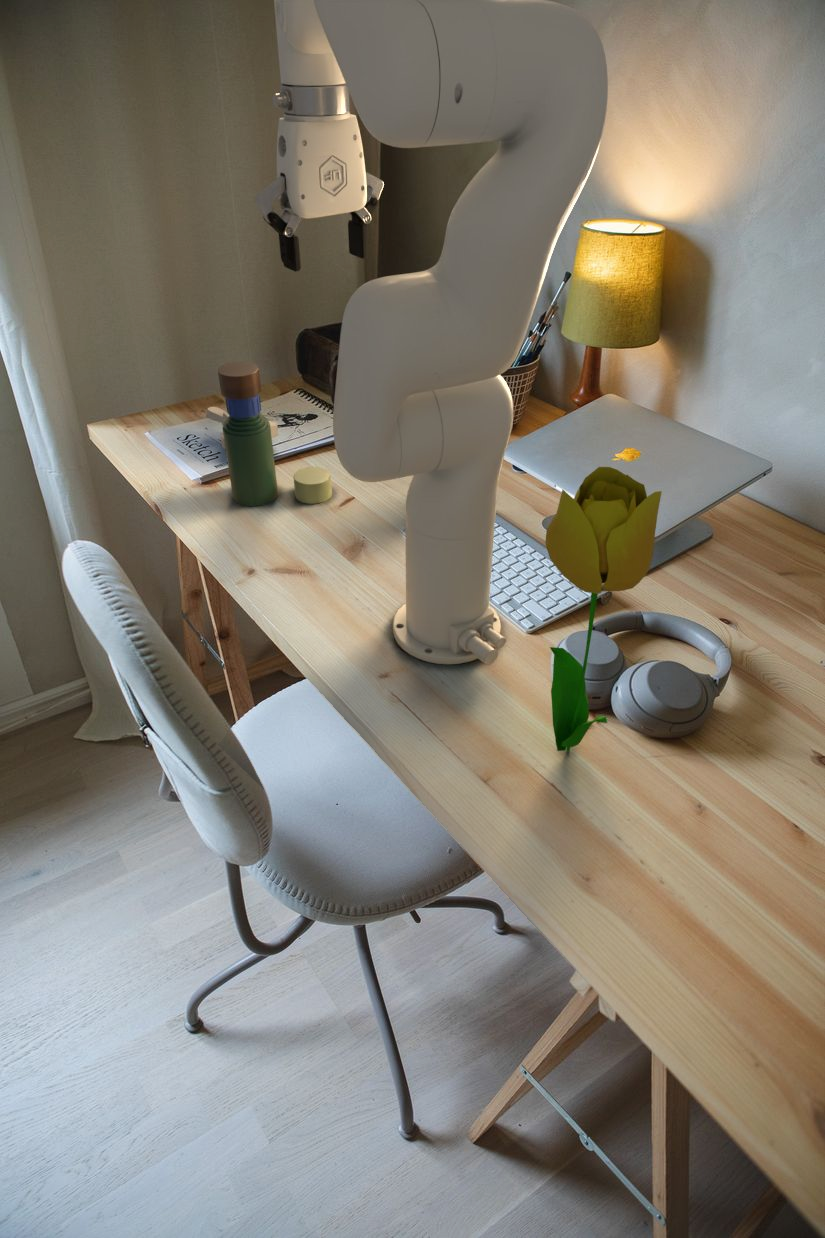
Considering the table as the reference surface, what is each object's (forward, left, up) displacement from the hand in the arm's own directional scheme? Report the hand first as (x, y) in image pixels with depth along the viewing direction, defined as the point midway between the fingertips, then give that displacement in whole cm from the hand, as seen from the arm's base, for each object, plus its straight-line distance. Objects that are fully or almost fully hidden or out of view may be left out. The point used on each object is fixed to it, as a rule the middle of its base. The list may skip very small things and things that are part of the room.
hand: (325, 262), depth 104 cm
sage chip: (+1, +4, -32) cm, 33 cm away
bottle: (+6, +11, -32) cm, 35 cm away
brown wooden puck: (+6, +11, -16) cm, 21 cm away
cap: (+6, +11, -17) cm, 21 cm away
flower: (-58, +10, -32) cm, 67 cm away
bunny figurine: (+23, +4, -32) cm, 40 cm away
